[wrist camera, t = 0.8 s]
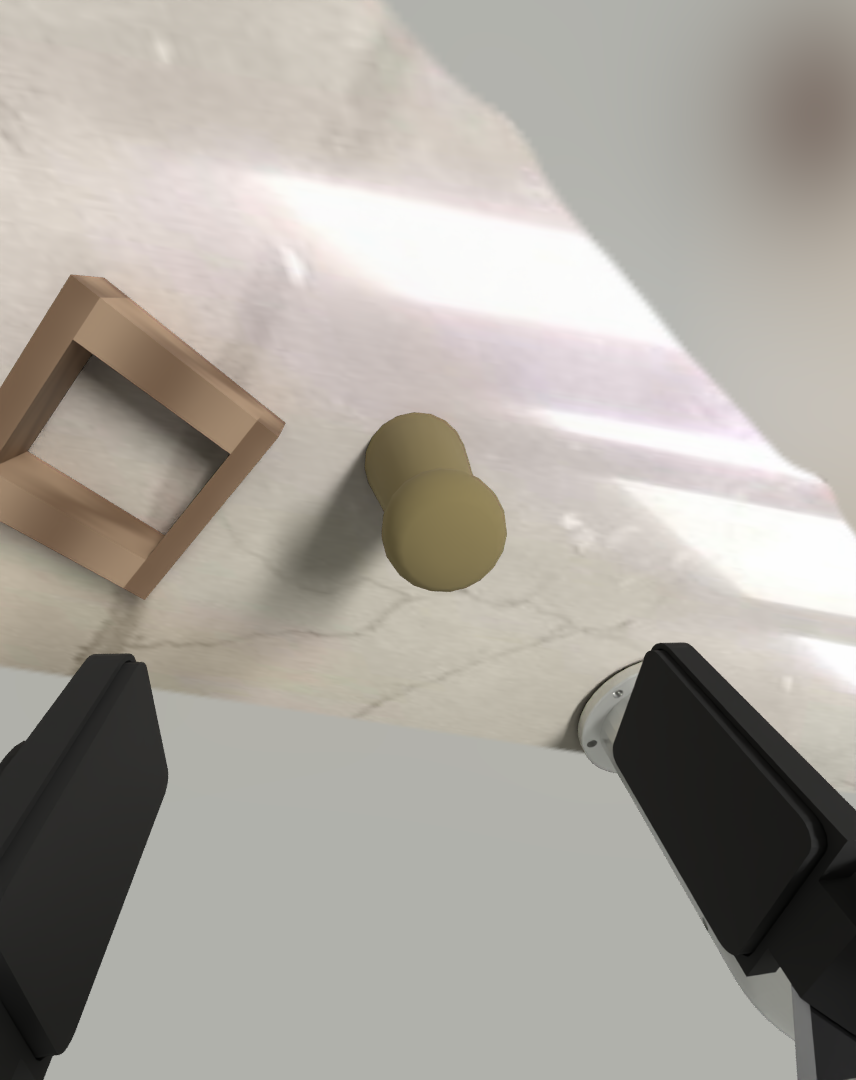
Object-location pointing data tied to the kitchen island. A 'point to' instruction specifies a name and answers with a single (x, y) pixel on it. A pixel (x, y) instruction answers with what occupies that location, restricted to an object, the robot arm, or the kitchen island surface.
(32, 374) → the walnut holder
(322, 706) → the kitchen island surface
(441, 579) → the tan rounded tapered piece
